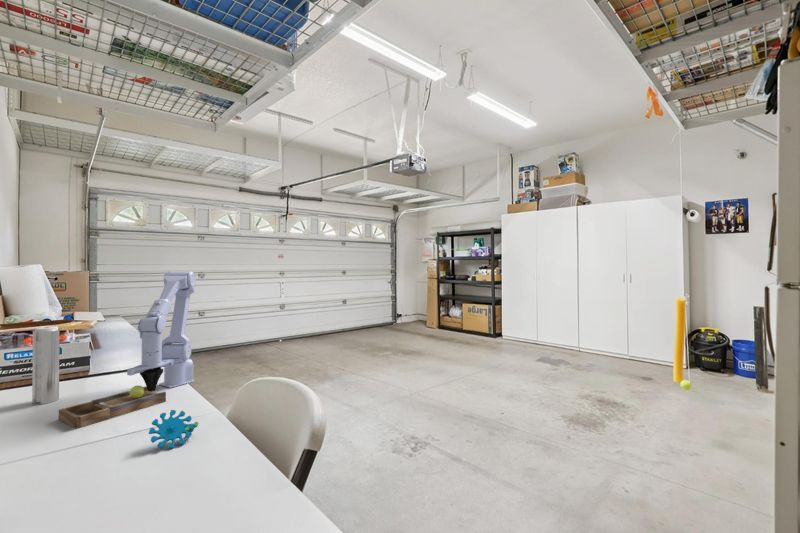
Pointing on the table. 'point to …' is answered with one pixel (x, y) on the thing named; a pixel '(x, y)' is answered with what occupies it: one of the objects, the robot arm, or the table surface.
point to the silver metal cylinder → (45, 365)
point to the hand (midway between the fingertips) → (151, 390)
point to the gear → (172, 429)
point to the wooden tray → (108, 408)
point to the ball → (136, 391)
